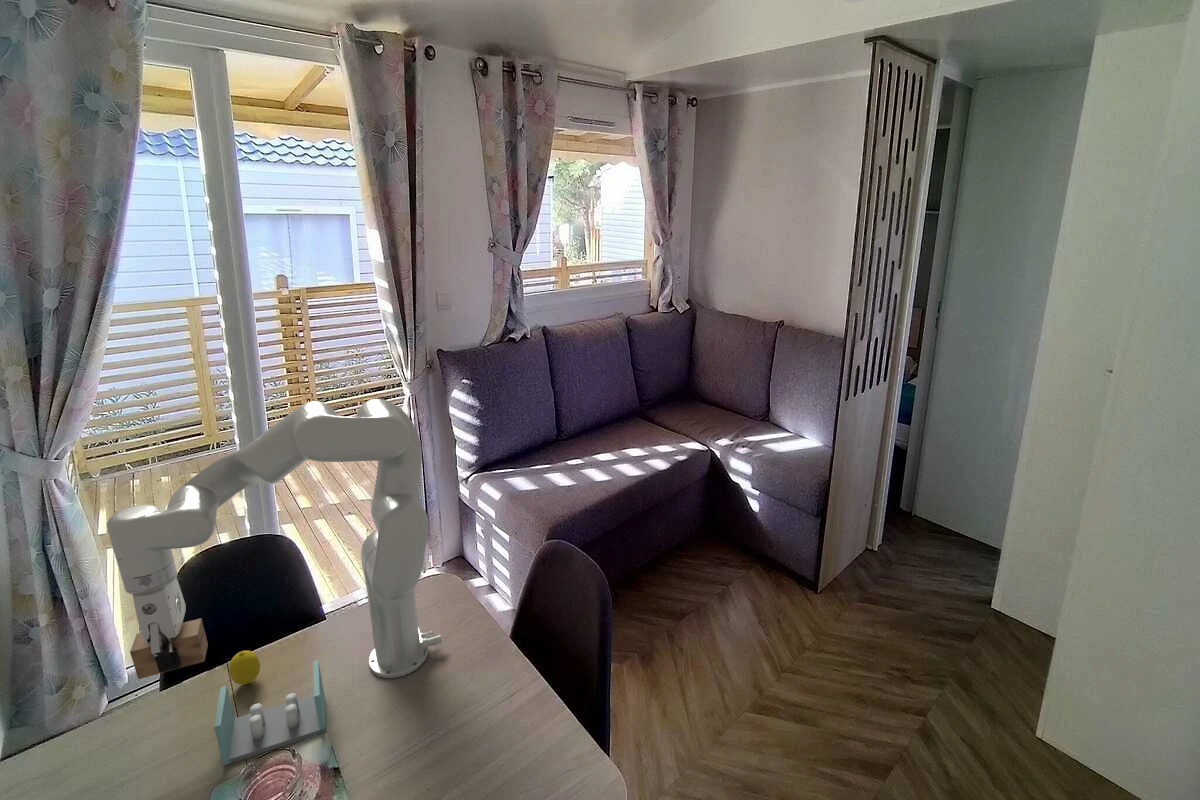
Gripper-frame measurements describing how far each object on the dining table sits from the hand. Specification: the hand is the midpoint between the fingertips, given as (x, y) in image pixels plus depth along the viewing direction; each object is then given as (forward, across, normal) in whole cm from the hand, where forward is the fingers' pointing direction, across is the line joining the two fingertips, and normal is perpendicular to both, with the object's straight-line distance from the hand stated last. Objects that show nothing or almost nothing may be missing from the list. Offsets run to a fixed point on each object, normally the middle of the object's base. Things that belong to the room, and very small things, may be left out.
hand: (173, 657), depth 109 cm
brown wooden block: (+1, 0, 0) cm, 1 cm away
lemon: (+17, +9, -9) cm, 21 cm away
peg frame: (+17, -6, -15) cm, 24 cm away
